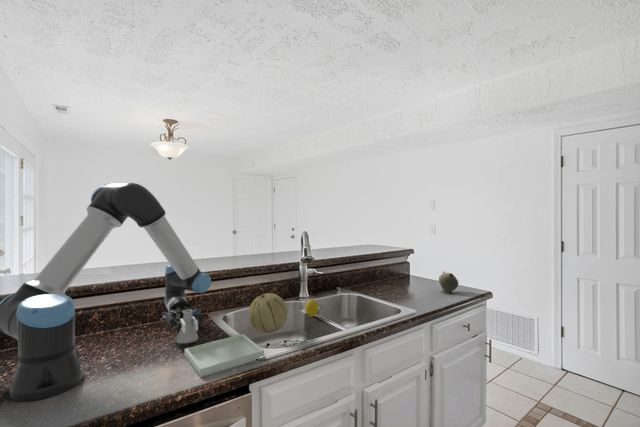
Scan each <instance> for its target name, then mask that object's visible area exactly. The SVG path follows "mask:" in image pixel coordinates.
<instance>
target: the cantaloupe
mask: <svg viewBox="0 0 640 427" xmlns="http://www.w3.org/2000/svg"><path fill="white" fill-rule="evenodd" d="M288 313H289V312H288V306H287V304H286V302H285V301H284V300H283V298H282V297H281V296H279V295H278V294H275V293H272V292H269V293H262V294H260V295H259V296H257V297H256V298H254V300H253V301H252V302H251V303H250V306H249V309H248V317H249V321H250V324H251V326H252V327H253V329H254V330H256V331H257V332H259V333H263V334H270V333H271V334H272V333H274V332H277V331H279V330H280V329H282V327H284V325H285V323H286V321H287V319H288Z"/></svg>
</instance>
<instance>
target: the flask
mask: <svg viewBox="0 0 640 427" xmlns="http://www.w3.org/2000/svg"><path fill="white" fill-rule="evenodd" d="M192 312H193V311H192V310H184V311H183V314H184V318H183V320H184V322H185V324H186V333H183V331H182V329H181V328H179V332H178V334H177V337H176V343H178V344H189V343H194V342H196V341H198V339H199V337H200V336H199V335H198V332H197V330H195V329H194V327H193V320H192ZM193 313H194V312H193Z"/></svg>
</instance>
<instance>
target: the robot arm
mask: <svg viewBox="0 0 640 427" xmlns="http://www.w3.org/2000/svg"><path fill="white" fill-rule="evenodd" d="M86 212H87V215H86V216H85V218H84V219H83V220H82V221H81V222H80V223H79V225H78V226H77V227H76V228H75V230H74V231H73V232H72V234H71V235H70V236H69V237H68V238H67V239H66V241H64V242H63V244H62V245H61V246H60V248H59V249H58V250H57V251H56V253H55V254H54V255H52V258H51V259H50V260H49V261H48V262H47V264H46V265H45V266H44V267H43V269H41V271H39V273H38V275H37V276H36V277H35V278H34V279H32V280H29V281H25V282H23V284H22V285H21V286H20V287H18V290H16V292H13V293H12V294H10V295H7V296H5V297H4V298H3V299H2V300H1V301H0V332H2V333H3V334H5V335H7V336H10V337H12V338H13V339H15V340H17V355H18V358H17V359H18V364H17V367H16V369H15V373H14V376H13V379H12V381H11V383H10V386H9V398H10V399H12V400H13V401H18V402H32V401H37V400H38V401H39V400H43V399H46V398H50V397H54V396H57V395H59V394H61V393H63V392H66V391H68V390H70V389H72V388H73V387H74V386H77V385H78V384H79V383H80V382H81V381H82V380H83V378H84V367H83V365H82V364H81V361H80V358H79V356H78V354H77V351H76V346H75V344H76V335H75V334H76V332H75V331H76V330H75V320H76V319H75V315H76V314H75V313H76V308H75V306H74V305H75V303H74V300H73V298H72V297H70V296H69V295H66V291H67V290H68V288H69V287H70V286H71V284H72V283H73V282H74V280H75V279H76V278H77V276H78V275H79V274H80V272H82V271H83V268H85V266H86V265H87V264H88V262H89V261H90V259H91V258H92V257H93V255H94V254H95V253H96V251H97V250H98V249H99V248H100V246H101V245H102V244H103V242H104V241H105V240H106V238H107V237H108V236H109V235H110V233H111V232H112V230H114V229H115V228H121V226H122V225H124V223H125V221H126V220H127V219H128V218H130V219H131V220H133V221H134V222H135V223H136V224H137V226H138V227H139V228H142V229H143V228H144V230H145V231H146V232H147V234H148V236H149V237H150V238H151V239H152V241H153V242H154V244H155V246H156V247H157V248H158V249H159V250H160V252H161V254H162V255H163V256H164V258H165V259H166V261H167V262H168V263H169V264H167V265H166V266H165V272H164V273H165V274H164V276H165V277H164V280H165V284H164V285H165V293H164V294H165V296H164V300H163V301H164V302H163V303H164V305H165V308H167V312H166V311H164V312H162V320H163V321H165V322H166V323H167V324H168V325H169V327H171V328H172V327H175V328H176V329H182V331H183V333H186V324H185V322H184V320H183V318H184V314H183V311H184V310H192V311H193V312H192V320H193V327H194V329H195V330H196V331H199V325H200V322H203V314H202V311H201V307H200V306H197V307H196V308H194V307H191V304H190V303H189V301H188V300H187V299H186V291H189V292H193V293H199V294H203V293H205V292H207V291H208V290H209V288H210V287H211V284H212V278H211V276H210V275H209V274H208V273H205V272H202V271H201V270H200V268H199V267H198V265H197V263H196V262H195V260H194V259H193V257H192V256H191V254H190V253H189V252H188V249H187V248H186V247H185V246H184V244H183V242H182V241H181V239H180V238H179V236H178V235H177V233H176V232H175V230H174V229H173V227H172V225H171V223H170V222H169V221H168V220H167V218H166V214H167V212H166V210H165V209H164V207H163V206H162V204H161V203H160V202H159V200H158V199H157V197H156V196H154V194H153V193H152V192H150V190H149V189H148V188H146V187H145V186H143V185H142V184H139V183H134V182H124V183H122V182H120V183H119V182H112V183H111V182H110V183H106V184H103V185H101V186H99V187H97V188H96V189H94V191H93V193H92V195H91V197H90V203H89V204H88V206H87V207H86Z"/></svg>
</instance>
